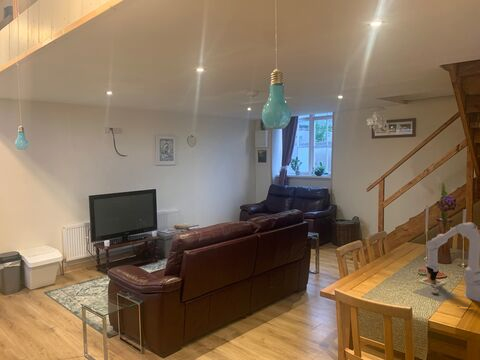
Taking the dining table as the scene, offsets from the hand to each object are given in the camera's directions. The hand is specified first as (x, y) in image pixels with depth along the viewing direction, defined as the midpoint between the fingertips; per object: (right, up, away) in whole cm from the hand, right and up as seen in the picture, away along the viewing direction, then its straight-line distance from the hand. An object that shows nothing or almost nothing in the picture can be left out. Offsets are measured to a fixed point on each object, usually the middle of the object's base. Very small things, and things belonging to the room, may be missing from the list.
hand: (432, 279), depth 235 cm
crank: (-7, -3, -14) cm, 16 cm away
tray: (0, -3, 0) cm, 3 cm away
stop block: (0, -2, 0) cm, 2 cm away
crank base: (-8, -5, -18) cm, 20 cm away
